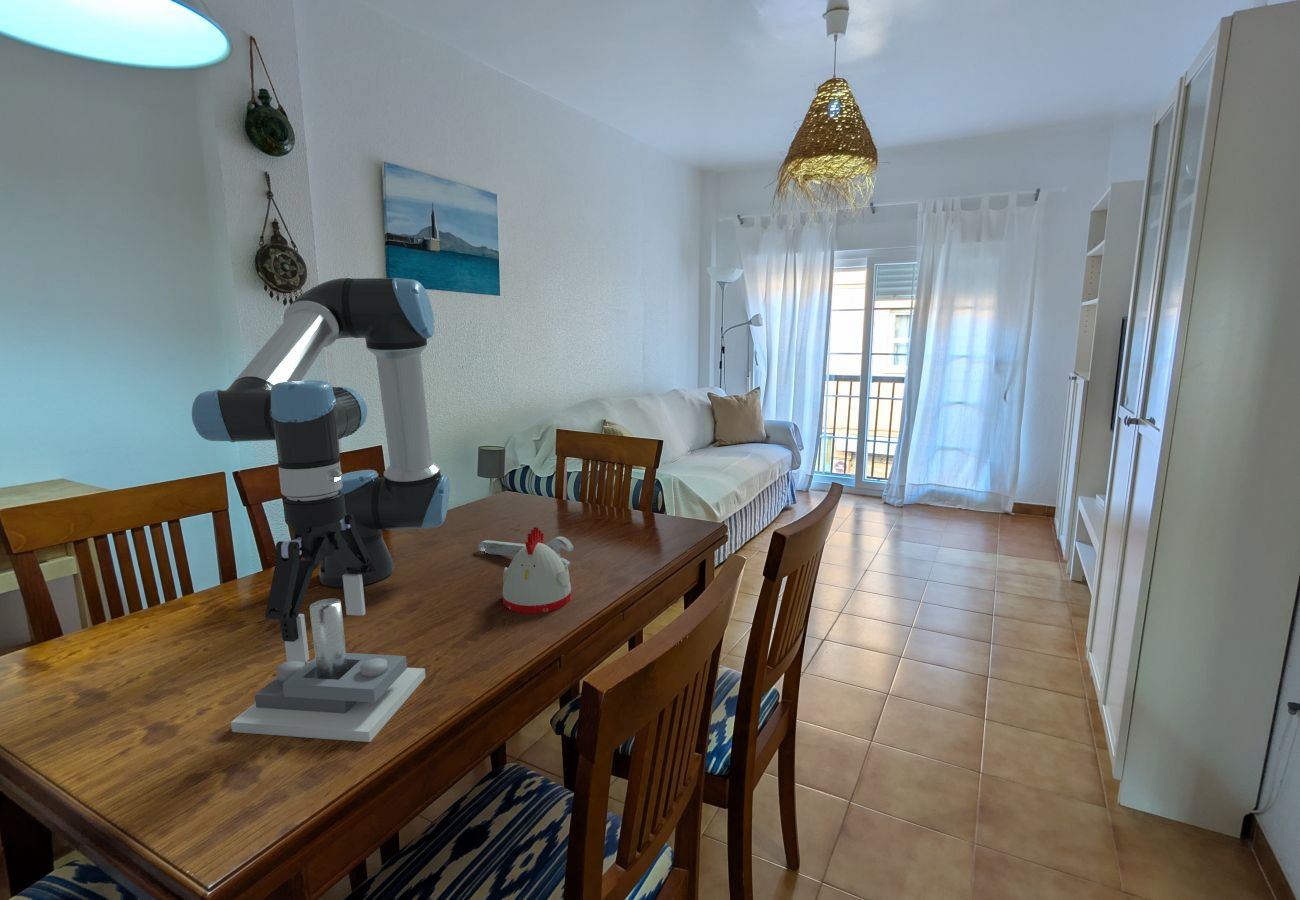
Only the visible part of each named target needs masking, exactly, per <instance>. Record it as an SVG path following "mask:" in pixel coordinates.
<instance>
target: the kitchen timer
mask: <svg viewBox="0 0 1300 900" xmlns="http://www.w3.org/2000/svg"><path fill="white" fill-rule="evenodd" d="M544 535H545V534H544V533H542V530H541V529H539V527H535V526H534V527H533V529H530V533H527V541H525V543H524V544H526V546H525V547H523V548H522V549H521V550H520V551H519V552H518V553H517V554H516V556H513V559H512V560H511V562H510V563H509V566H508V567H504V569H503V576H502V577H503V578H502V582H503V586H502V605H503V604H504V605H505V606H506V607H507V608H506V607H505V608H506V609H508V608H509V609H508V610H510V609H511V610H510V611H512V610H514V611H513V612H516V611H517V612H516V613H520V612H522V613H521V614H541V613H547V612H551V611H552V612H553V611H555V610H559V609H561V608H562V607H565V606H566V605H567V604H569V602H571V600H572V584H571V581H570V579H571V578H570V572H569V566H567V565H564V564H563V562H562V560H561V559H560V557H559V556H558V555H557V554H556V553H555V552H554V551H553V550H552V549H551V548H550V547H548V546H547V545H545V543H544V538H545V537H544ZM570 599H571V600H570ZM504 605H503V606H504ZM560 607H561V608H560Z"/></svg>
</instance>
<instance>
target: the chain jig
mask: <svg viewBox="0 0 1300 900" xmlns="http://www.w3.org/2000/svg"><path fill="white" fill-rule="evenodd" d="M346 657H347V666H348V672H347V673H346V674H344V675H343V676H342V677H341V678H340V679H339V680H333V679H318V678H317V669H316V661H315V657H313V659H311V660H310V661H306V662H300V661H287V660H286V661H285V662H283V663H280V664H279V665H278V666H277V667H276V673H277V674H276V675H277V677H275V678H274V679H273V680H271V682H269V683H267V684H266V685H265V686H264V687H263V688H261V689H260V690H258V691H257V692H256V693H255V694H254V701H255V702H254V703H253V704H252V705H251V706H249V707H248V708H247V709H246V710H244V711H243V712H241V713H240V714H239V715H238V716H236V717H235V718H233V720H232V721H230V727H231V732H232V733H243V734H254V735H257V734H259V735H267V736H268V735H269V736H270V735H271V736H279V737H280V736H281V737H282V736H283V737H295V738H296V737H298V738H311V739H324V740H337V741H348V742H349V741H351V742H365V743H370V742H372V741H373V739H374V738H375V737H376V736H377V735H378V734H379V732H380V731H381V730H382V729H383V728H384V726H385V725H387V724H388V722H389V721H390V719H392V717H393V716H394V715H395V714H396V712H397V711H398V710H399V709H400V708H401V707H402V706H403V704H405V702H406V700H408V698H410V696H411V695H412V694H413V693H414V692H415V690H416V689H417V688H418V687H419V686H420V685H421V684H422V682H423V681H424V680H425V679H426V668H425V667H424V668H422V667H408V663H407V656H406V655H392V654H375V653H359V652H358V653H355V652H346Z"/></svg>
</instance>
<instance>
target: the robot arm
mask: <svg viewBox="0 0 1300 900" xmlns="http://www.w3.org/2000/svg"><path fill="white" fill-rule="evenodd" d="M282 319H283V322H282V324H281V325H280V326H279V327H278V328H277V330H275V332H274V333H273V334H272V336H271V337H270V338H269V340H267V341H266V343H265V344H264V345H263V347H262V348H261V349H260V350H259V351H258V352H257V354H255V356H254V357H253V358H252V360H250V362H249V363H248V364H247V365H246V366H245V368H244V369H243V370H242V371H241V372H240V374H239V375H238V376H237V377H236V379H234V381H233V382H232V383H231V384H230V386H229V387H228V388H227V389H226V390H221V389H215V390H207V391H203V392H201V393H199V394H198V395H197V396H196V397H195V399H194V400H193V403H192V407H191V420H192V425H193V426H194V428H195V431H196V432H197V434H198V435H199V436H200V437H201V438H203V439H204V440H207V441H210V442H230V443H236V442H257V441H258V442H259V441H260V442H261V441H262V442H263V441H264V442H265V441H275V445H276V446H275V447H276V454H277V464H278V466H277V467H278V476H279V485H280V493H281V494H282V495H283V496H285V497H284V499H283V500H282V506H283V507H282V509H283V515H284V516H283V517H284V522H285V524H286V525H287V526H289V527H290V528H291V529H292V531H293V536H292V540H288V541H283V540H281V541H280V540H279V541H277V543H276V544H275V559H276V560H275V566H274V569H273V570H274V571H273V574H272V579H271V585H270V590H269V595H268V600H267V605H266V609H265V614H264V615H265V616H264V617H265V619H267V620H274V621H275V620H277V621H279V624H280V632H281V638H282V641H283V642H284V647H285V656H286V662H287V661H300V662H308V661H309V660H310V654H309V653H310V652H309V643H308V636H307V635H308V634H307V627H306V619H305V613H300V612H301V608H302V605H303V603H304V599H305V598H306V594H307V592H308V589H309V587H310V586H309V585H310V582H311V580H312V577H313V573H314V571H315V570H316V569H317V568H319V570H318V571H319V572H318V573H319V582H320V583H321V584H322V585H323V586H326V587H330V588H331V587H332V588H343V593H344V603H345V612H346V616H365V615H366V614H367V613H366V603H365V593H364V586H365V585H370V584H374V583H377V582H379V581H381V580H384V579H386V578H388V577H389V576H390V575H392V574H393V572H394V571H395V566H394V559H393V557H392V555H391V553H390V550H389V549H388V547H387V544H386V543H385V540H384V537H383V536H384V535H383V530H410V529H411V530H413V529H414V530H415V529H416V530H417V529H418V530H419V529H420V530H424V529H430V528H438V527H440V526H442V524H443V523H444V522H445V520H446V518H447V514H448V513H447V512H448V510H449V509H448V508H449V502H450V492H451V490H450V489H451V488H450V487H451V486H450V485H451V482H450V477H449V476H448V475H445V474H441V468H440V465H439V464H438V463H437V462H435V461H433V460H432V451H431V450H432V449H431V443H430V442H431V441H430V433H429V432H430V431H429V423H428V412H427V404H426V403H427V402H426V395H425V394H426V393H425V386H424V385H425V384H424V376H423V375H424V374H423V366H422V365H423V364H422V356H421V355H422V353H423V351H424V350H425V349H426V348H427V347H428V342H427V341H428V339H430V338H433V336H434V333H435V325H434V323H435V318H434V313H433V308H432V303H431V301H430V297H429V294H428V292H427V290H426V289H425V287H424V286H423V284H422V283H421V282H419V281H418V280H416V279H410V278H401V277H387V278H385V277H384V278H383V277H380V278H379V277H378V278H377V277H376V278H375V277H373V278H372V277H371V278H370V277H369V278H351V277H350V278H349V277H341V278H336V279H335V278H334V279H330V280H327V281H325V282H322V283H320V284H317V285H316V286H314V287H312V288H309V289H308V290H306V291H305V292H303V293H302V294H300V295H299V296H298V297H297V298H296V299H294V300H292V302H291V303H290V304H289V305H288V307H287V308H286V309H285V311H284V313H283V317H282ZM349 338H351V339H352V338H354V339H365V344H366V349H367V350H368V351H369V352H371V353H372V354H373V355H374V356H375V359H376V367H377V374H378V375H377V376H378V380H379V381H378V382H379V387H380V388H379V391H380V398H381V405H382V412H383V420H384V428H385V436H386V444H387V452H388V459H389V465H388V467H387V468H386V469H385V470H384V471H383V477H379V473H378V472H377V470H374V469H361V470H355V471H350V472H345V473H343V472H342V467H341V454H340V453H341V451H340V441H339V440H341V439H343V438H345V437H346V438H347V437H349V436H352V435H354V434H355V433H356V432H357V431H358V430H359V429H360V428H361V427H362V426H363V425H364V423H365V422H366V419H367V417H368V407H367V404H366V401H365V400H364V398H363V397H362V396H361V394H360V393H358V392H357V391H356V390H354V389H352V388H349V387H345V386H344V387H343V386H332V384H331V383H330V382H328V381H326V380H317V379H316V380H307V379H306V380H303V378H304V377H305V375H306V374H307V373H308V371H309V370H310V368H311V367H312V365H313V364H314V362H315V361H316V359H317V358H318V357H319V355H320V353H322V351H323V350H324V348H327V347H329V346H332V345H333V344H334V343H335V342H336V340H339V339H349ZM302 558H303V559H302ZM319 566H320V567H319Z"/></svg>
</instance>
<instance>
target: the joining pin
mask: <svg viewBox="0 0 1300 900" xmlns="http://www.w3.org/2000/svg"><path fill="white" fill-rule="evenodd" d="M342 608H343V607H342V601H341V599H339V598H332V597H331V598H324V599H320V600H317V601H315V602H313V603H311V604H310V605H309V615H310V624H311V632H312V634H311V635H312V641H313V651H314V658H315V661H316V669H317V678H318V679H333V680H339V679H340V678H341V677H342V676H343V675H344V674H346V673H347V672H348V666H347V657H346V653H347V649H346V639H345V629H344V618H343V610H342Z"/></svg>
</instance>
